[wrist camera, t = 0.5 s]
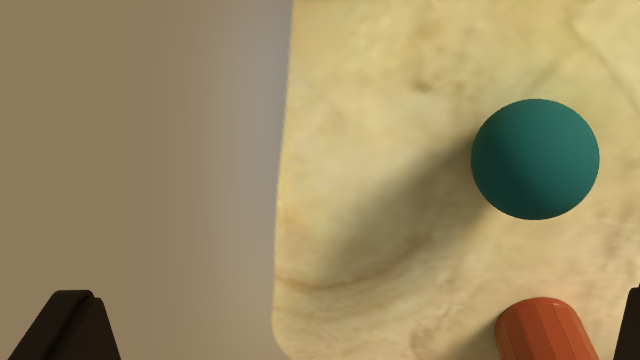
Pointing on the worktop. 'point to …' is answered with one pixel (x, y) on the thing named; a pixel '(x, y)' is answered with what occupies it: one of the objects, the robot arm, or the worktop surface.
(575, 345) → the tumbler
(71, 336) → the robot arm
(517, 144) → the ball
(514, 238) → the worktop surface
